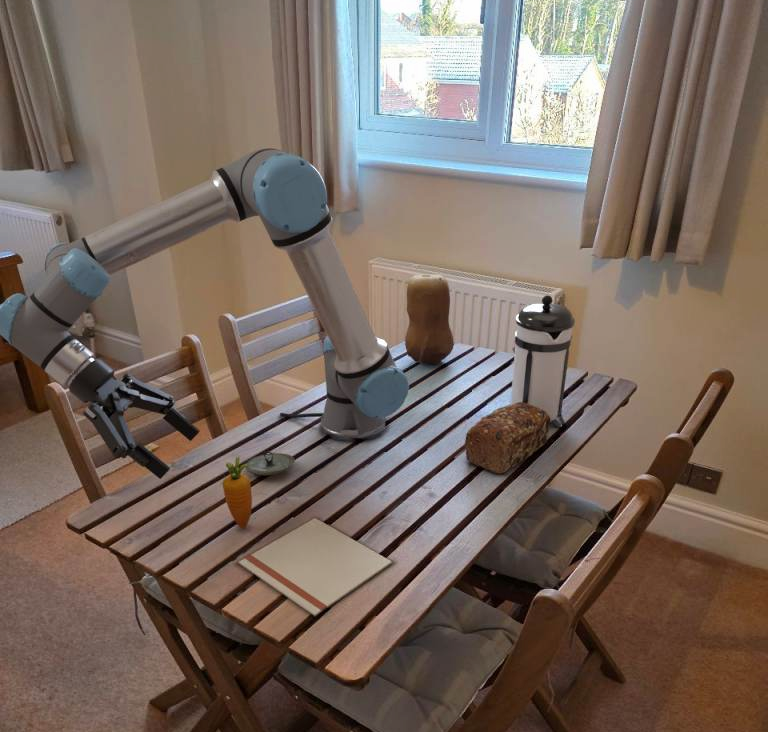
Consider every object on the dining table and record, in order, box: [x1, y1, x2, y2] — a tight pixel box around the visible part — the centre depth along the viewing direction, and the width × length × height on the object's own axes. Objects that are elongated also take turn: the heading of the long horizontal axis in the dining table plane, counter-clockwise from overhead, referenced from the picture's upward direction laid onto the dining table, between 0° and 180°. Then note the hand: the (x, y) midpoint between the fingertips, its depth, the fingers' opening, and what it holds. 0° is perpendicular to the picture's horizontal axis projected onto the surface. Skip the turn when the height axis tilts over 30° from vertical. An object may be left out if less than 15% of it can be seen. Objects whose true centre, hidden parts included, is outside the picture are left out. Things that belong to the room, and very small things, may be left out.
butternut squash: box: [404, 273, 454, 366], centre depth 191 cm, size 14×13×25 cm
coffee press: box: [509, 295, 576, 428], centre depth 160 cm, size 17×16×30 cm
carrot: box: [222, 456, 253, 530], centre depth 126 cm, size 5×5×15 cm
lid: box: [244, 450, 296, 476], centre depth 147 cm, size 11×10×5 cm
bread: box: [464, 402, 551, 474], centre depth 150 cm, size 19×11×10 cm, turn 137°
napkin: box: [238, 517, 393, 617], centre depth 121 cm, size 20×18×1 cm
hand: (181, 454), depth 123 cm, fingers open, 13 cm apart
